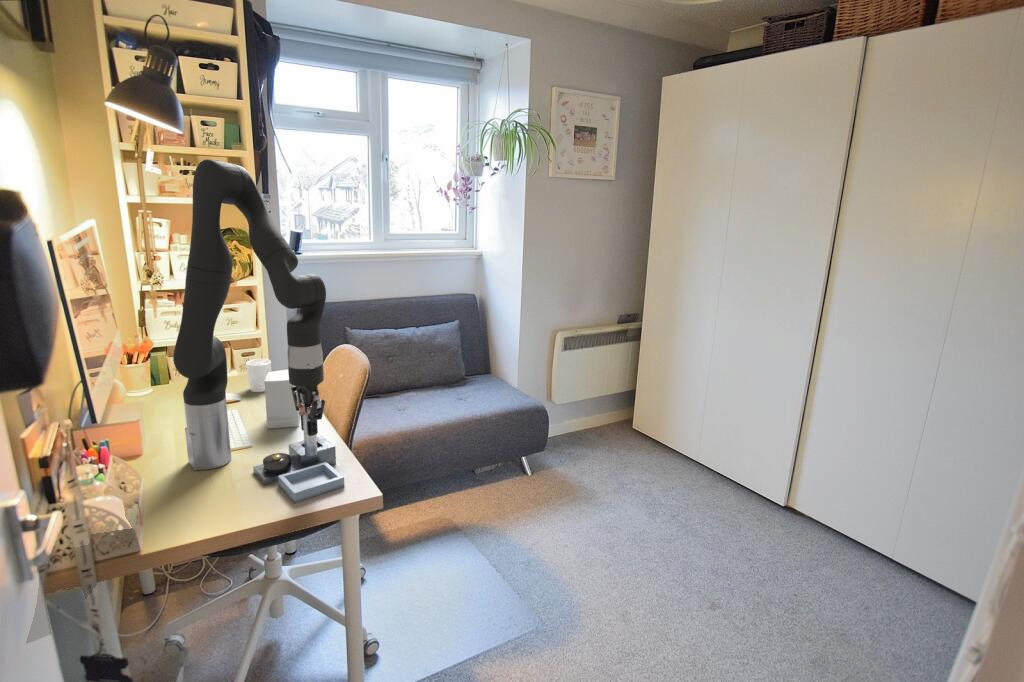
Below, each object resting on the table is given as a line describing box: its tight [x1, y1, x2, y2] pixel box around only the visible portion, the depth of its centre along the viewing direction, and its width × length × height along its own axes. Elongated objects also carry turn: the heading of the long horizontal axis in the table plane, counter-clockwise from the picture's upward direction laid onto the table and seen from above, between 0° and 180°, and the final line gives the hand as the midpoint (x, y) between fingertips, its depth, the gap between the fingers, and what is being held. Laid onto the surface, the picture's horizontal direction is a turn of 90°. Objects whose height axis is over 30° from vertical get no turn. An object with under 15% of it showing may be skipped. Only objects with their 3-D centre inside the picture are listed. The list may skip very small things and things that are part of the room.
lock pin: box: [300, 405, 318, 456], centre depth 129 cm, size 4×4×12 cm
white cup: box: [245, 358, 272, 393], centre depth 192 cm, size 8×8×10 cm
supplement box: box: [264, 371, 301, 429], centre depth 166 cm, size 9×9×15 cm
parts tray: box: [277, 462, 345, 504], centre depth 132 cm, size 12×10×2 cm
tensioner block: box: [253, 435, 337, 486], centre depth 140 cm, size 18×8×5 cm, turn 132°
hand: (309, 432), depth 129 cm, fingers closed on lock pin, 2 cm apart
